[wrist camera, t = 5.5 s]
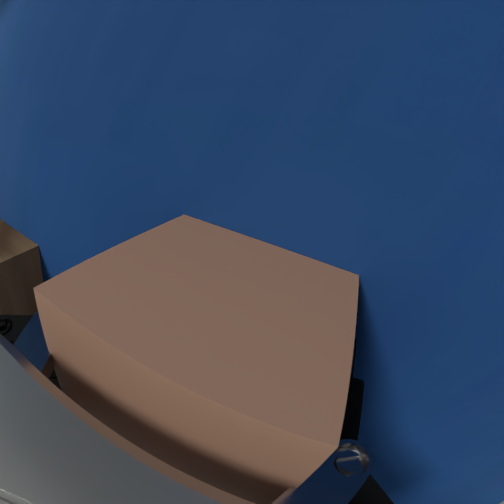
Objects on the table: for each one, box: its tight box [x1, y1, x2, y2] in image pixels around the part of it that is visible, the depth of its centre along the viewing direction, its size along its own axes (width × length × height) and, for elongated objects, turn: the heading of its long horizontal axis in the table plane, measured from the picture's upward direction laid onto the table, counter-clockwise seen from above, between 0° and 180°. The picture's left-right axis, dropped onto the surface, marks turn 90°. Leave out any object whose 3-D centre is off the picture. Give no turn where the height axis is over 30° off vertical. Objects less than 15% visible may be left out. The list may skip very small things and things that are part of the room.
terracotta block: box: [33, 215, 359, 504], centre depth 9 cm, size 6×6×6 cm
